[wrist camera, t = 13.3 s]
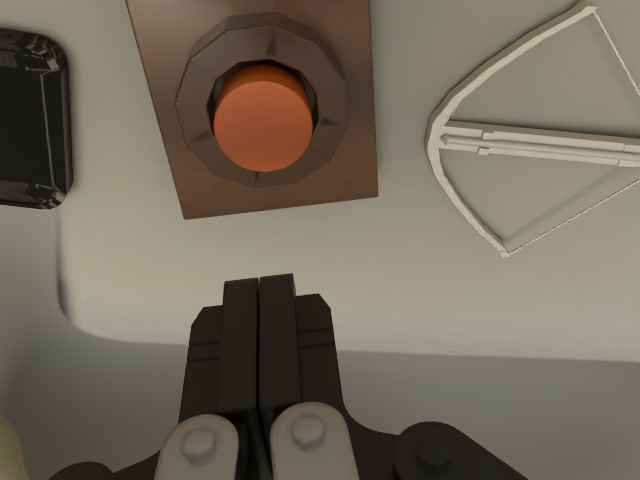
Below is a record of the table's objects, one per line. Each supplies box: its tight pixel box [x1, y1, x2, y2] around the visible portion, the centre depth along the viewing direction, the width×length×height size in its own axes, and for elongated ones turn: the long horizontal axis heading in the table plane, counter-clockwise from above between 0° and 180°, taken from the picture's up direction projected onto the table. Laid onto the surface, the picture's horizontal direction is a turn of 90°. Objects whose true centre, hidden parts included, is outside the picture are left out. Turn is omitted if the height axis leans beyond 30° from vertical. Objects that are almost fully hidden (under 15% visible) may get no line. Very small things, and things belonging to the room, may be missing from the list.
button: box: [214, 65, 313, 172], centre depth 23 cm, size 4×4×2 cm
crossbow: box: [424, 1, 640, 257], centre depth 29 cm, size 16×13×2 cm
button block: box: [125, 0, 378, 220], centre depth 25 cm, size 11×9×4 cm
